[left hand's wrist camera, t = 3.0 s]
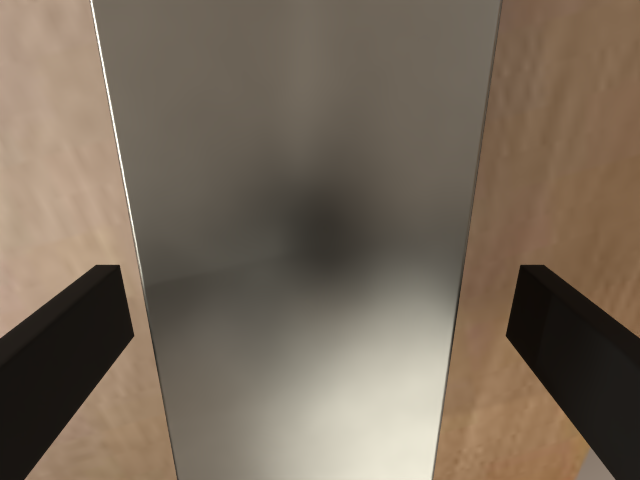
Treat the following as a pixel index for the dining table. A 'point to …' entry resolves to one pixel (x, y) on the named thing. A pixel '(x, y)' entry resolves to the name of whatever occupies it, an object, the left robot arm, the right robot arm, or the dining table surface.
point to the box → (300, 221)
